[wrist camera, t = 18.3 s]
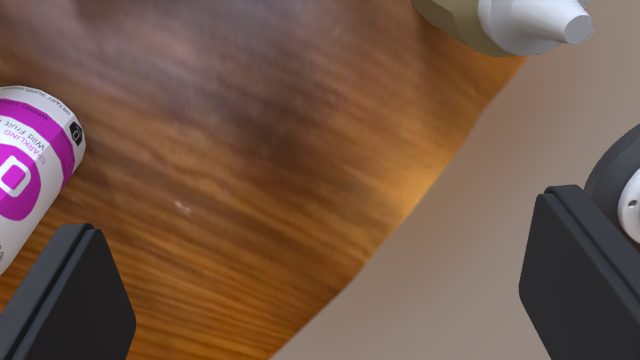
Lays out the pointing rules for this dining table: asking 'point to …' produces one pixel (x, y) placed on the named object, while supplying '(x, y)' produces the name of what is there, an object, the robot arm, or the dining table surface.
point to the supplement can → (32, 161)
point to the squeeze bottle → (510, 23)
